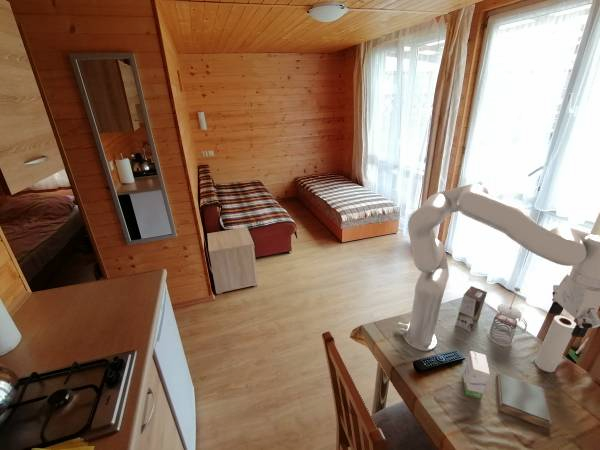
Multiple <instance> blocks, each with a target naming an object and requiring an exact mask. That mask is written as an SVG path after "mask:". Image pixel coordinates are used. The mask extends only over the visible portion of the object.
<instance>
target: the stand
mask: <svg viewBox="0 0 600 450" xmlns="http://www.w3.org/2000/svg"><path fill="white" fill-rule="evenodd" d="M495 383H496V384H495V386H496V397H497V398H496V399H497V410H499V411H501V412H503V413H505V414H508V415H511V416H514V417H516V418H519V419H521V420H523V421H526V422H528V423H531V424H534V425H537V426H539V427H540V428H541V427H542V428H545V429H546V430H549V429H550V428H551V425H552V420H551V415H550V411H549V407H548V402H547V397H546V394H545V389H544V388H543V387H541V386H538V385H534V384H532V383H529V382H526V381H523V380H520V379H517V378H515V377H511V376H508V375H505V374H502V373H500V372H497V373H496V376H495Z"/></svg>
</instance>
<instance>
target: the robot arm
mask: <svg viewBox="0 0 600 450" xmlns="http://www.w3.org/2000/svg"><path fill="white" fill-rule="evenodd" d="M457 212H459V213H460V214H462V215H463V216H465V217H467V218H470V219H471V220H474V221H477V222H479V223H481V224H483V225H486V226H487V227H489V228H492V229H494V230H496V231H498V232H501V233H502V234H504V235H505V236H507V237H508V238H509V239H511V240H512V241H513V242H515V243H517V245H520V246H521V247H523V248H524V249H525V250H527V251H529V252H531V253H532V254H534V255H536V256H538V257H541V258H543V259H545V260H547V261H550V262H551V263H554V264H556V265H561V266H565V267H566V266H567V267H568V266H569V267H572V268H571V271H570V272H569V273H567V274H566V275H565V276H564V277H563V278H562V280H561V282H560V283H559V284H553V286H552V291H553V292H552V299H551V301H552V304H551V306H550V308H549V311H548V313H549V314H550V315H551V314H552V315H554V314H555V315H556V314H557V315H560V314H561V312H562V311H563V310H565V311H566V312H567V313H568V314H569V315H570V316H571V317H573V318H575V319H577V324H576V326H575V328H574V330H573V332H572V333H571V335H572V337H573V338H574V337H575V338H585V336H586V334H587V332H588V330H589V329H597V328H598V327H600V317H599V315H598V311H599V309H600V234H592V233H588V232H585V231H583V230H578V229H575V228H572V227H567V226H557V227H554V228H552V229H551V230H549V229H547V228H545V227H543V226H542V225H540V224H539V223H538V222H536V220H534V219H533V218H532V217H531V216H530V215H529V214H528V213H527V212H526V211H525V210H524V209H522V208H521V207H520V206H517V205H514V204H512V203H509V202H507V201H504V200H502V199H500V198H497V197H495V196H492V195H490V193H489V191H488V189H487V188H486V187H485V186H483V185H481V184H477V183H472V184H471V183H470V184H466V185H462V186H458V187H455V188H451V189H447V190H443V191H439V192H436V193H434V194H432V195H430V196H429V197H428V198H427V199H426V201H424V203H423V204H422V205H421V206H420V207H419V208H418V209H416V210H415V211H414V212H413V213H412V214H411V215H410V216H409V218H408V221H407V230H408V235H409V241H410V248H411V253H412V259H413V264H414V266H415V268H417V270H418V271H419V272H421V273H420V275H419V277H418V278H417V280H416V284H415V288H414V299H413V303H412V308H411V309H412V310H411V315H410V321H409V323H406V324H405V323H403V322H401V321H399V322H398V323H397V327H399V330H398V331H399V332H403V338H404V340H405V342H406V343H407V345H409V346H410V347H412V348H413V349H415V350H418V351H426V352H427V351H432V350H433V349H435V348H436V346H437V342H438V341H437V338H436V335H435V332H436V328H437V325H438V320H439V315H440V309H441V306H442V303H443V302H442V300H443V297H444V293H445V290H446V287H447V283H448V281H449V278H450V277H449V276H450V272H449V266H448V265H449V264H448V258H447V251H446V249H445V245H444V244H443V242H442V241H440V239H438V238H436V233H435V231H434V230H435V227H437V226H439V225H441V224H442V223H443V222H445V220H446V219H447V217H448V215H449V214H451V213H452V214H453V213H457ZM562 313H563V312H562ZM584 319H585V322H586V323H584Z"/></svg>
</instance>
